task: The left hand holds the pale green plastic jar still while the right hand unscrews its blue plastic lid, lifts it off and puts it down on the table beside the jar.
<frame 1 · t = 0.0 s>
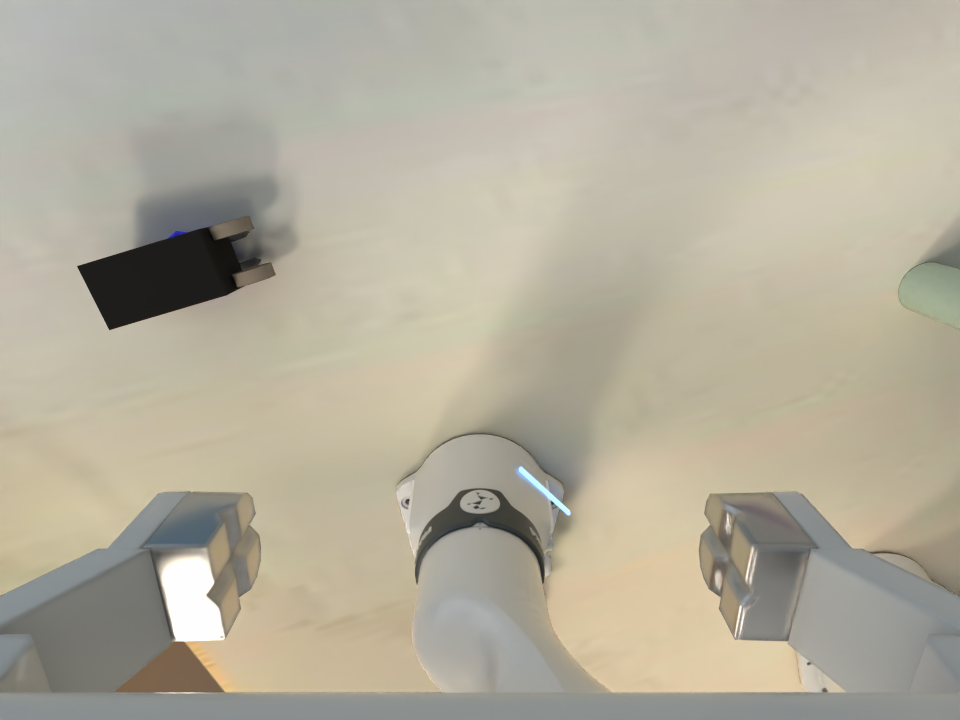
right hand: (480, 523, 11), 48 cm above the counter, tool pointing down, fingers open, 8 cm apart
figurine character: (203, 261, 57), on the counter
jar: (924, 287, 58), on the counter
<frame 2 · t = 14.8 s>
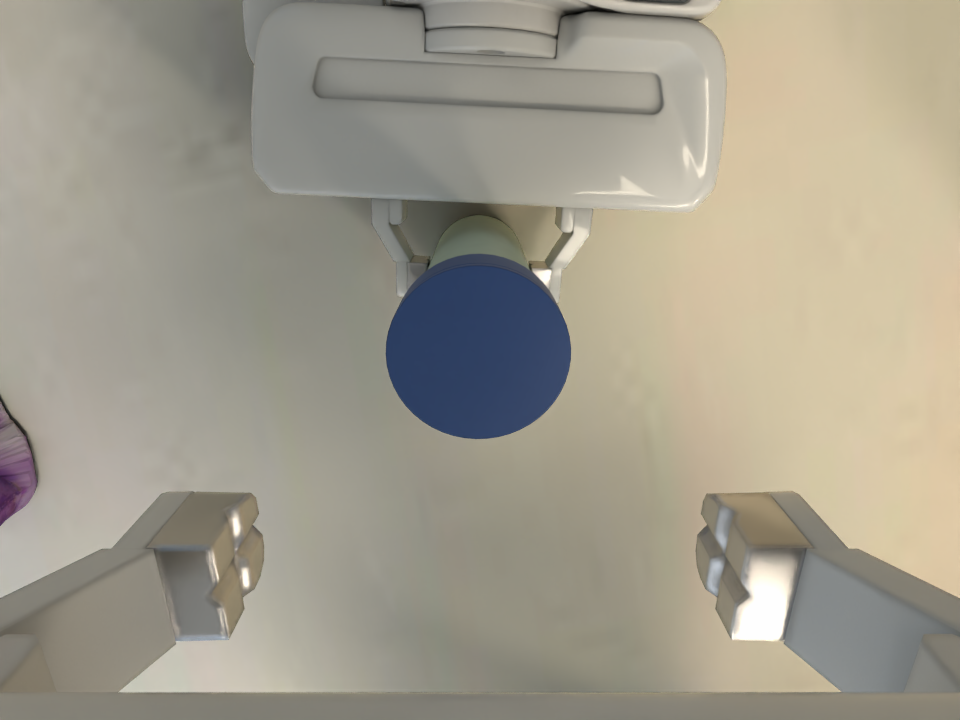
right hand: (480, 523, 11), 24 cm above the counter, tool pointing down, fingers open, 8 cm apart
left hand: (478, 298, 29), fingers closed on jar, 5 cm apart
lid: (478, 353, 19), point 15 cm above the counter, screwed on, not yet turned
jar: (478, 259, 33), on the counter, touching left hand
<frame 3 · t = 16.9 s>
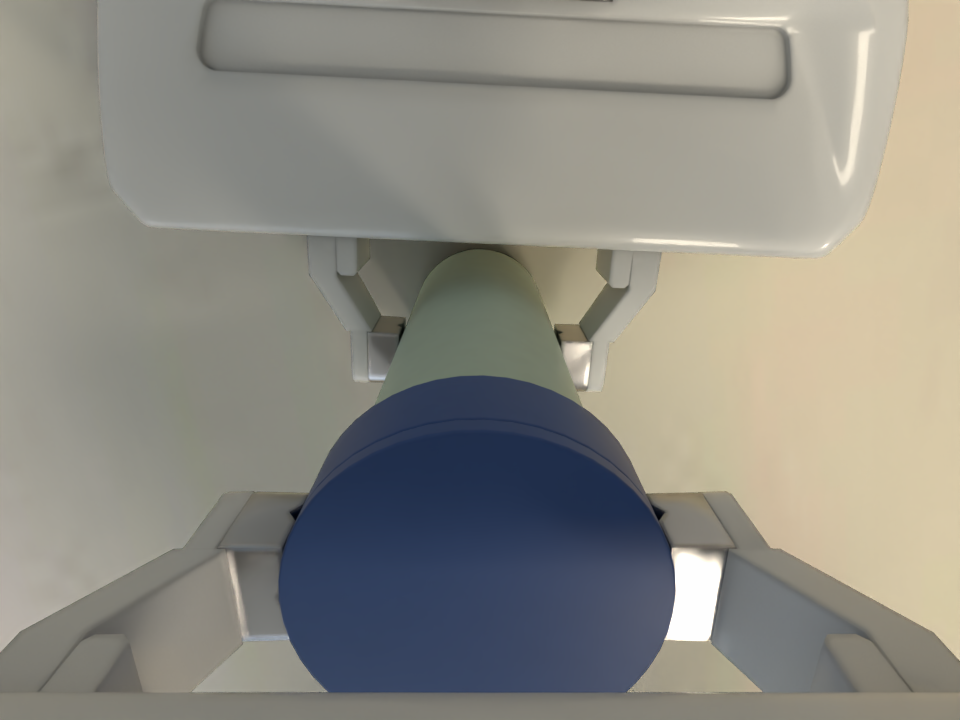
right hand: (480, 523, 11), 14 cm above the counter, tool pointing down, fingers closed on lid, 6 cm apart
lid: (477, 590, 9), point 15 cm above the counter, screwed on, not yet turned, touching right hand
jar: (479, 310, 23), on the counter, touching left hand
when the right hand's fingers open (14 cm above the counter, at t = 18.3 s): lid stays where it is, point 16 cm above the counter.
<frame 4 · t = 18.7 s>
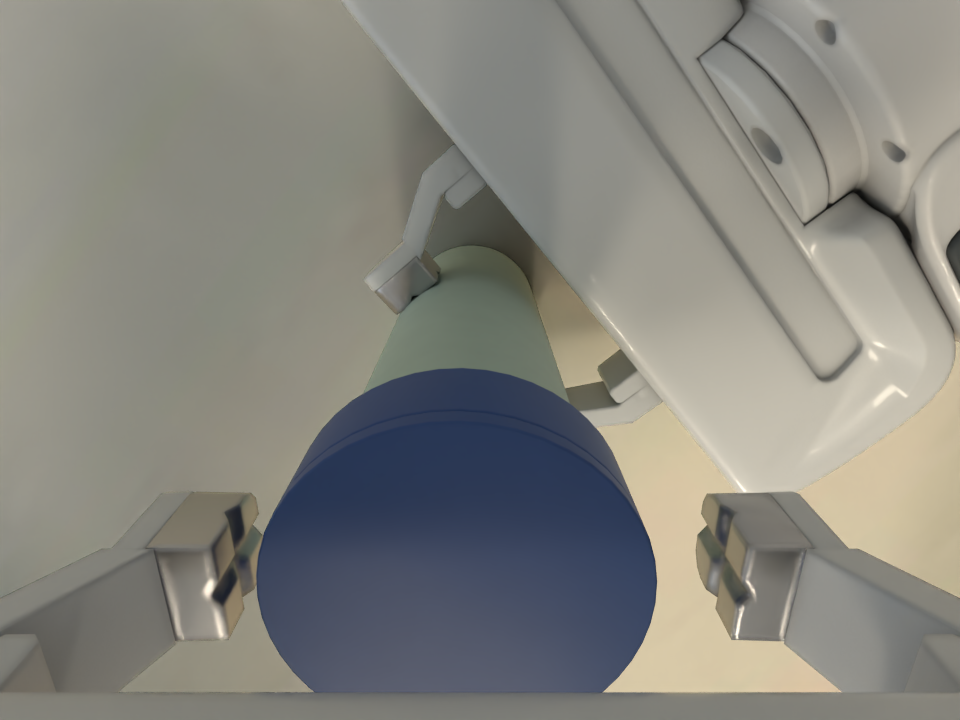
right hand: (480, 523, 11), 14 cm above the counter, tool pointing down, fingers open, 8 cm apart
lid: (457, 584, 9), point 16 cm above the counter, turned 70° so far, risen 0.2 cm, still on its thread
jar: (471, 306, 24), on the counter, touching left hand
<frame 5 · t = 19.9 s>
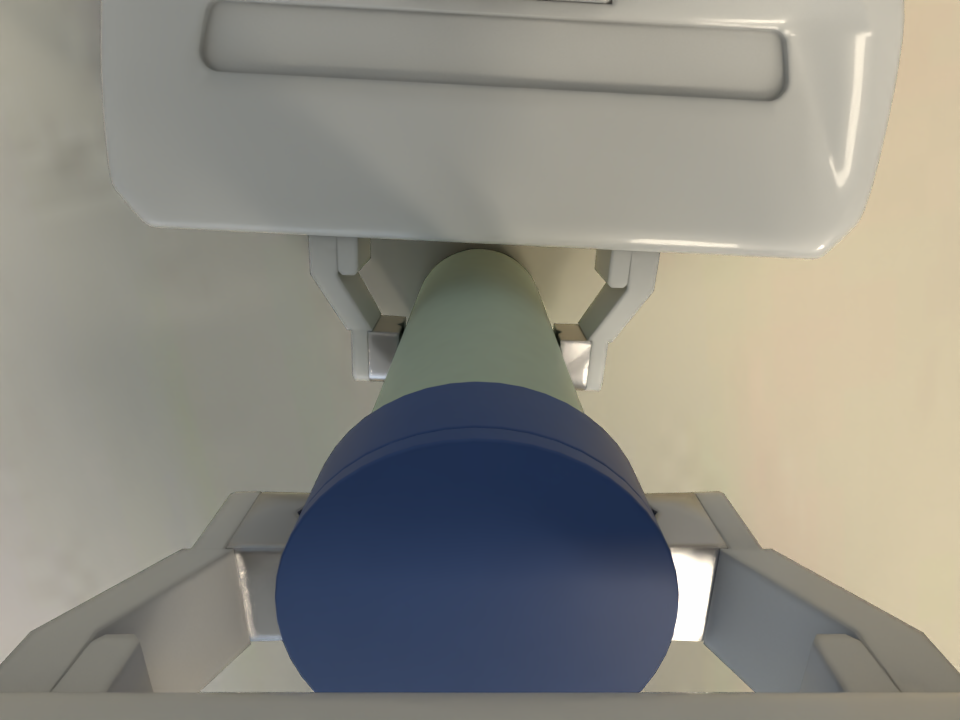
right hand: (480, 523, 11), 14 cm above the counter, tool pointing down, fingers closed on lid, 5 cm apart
lid: (477, 600, 9), point 16 cm above the counter, turned 70° so far, risen 0.3 cm, still on its thread, touching right hand
jar: (479, 310, 23), on the counter, touching left hand
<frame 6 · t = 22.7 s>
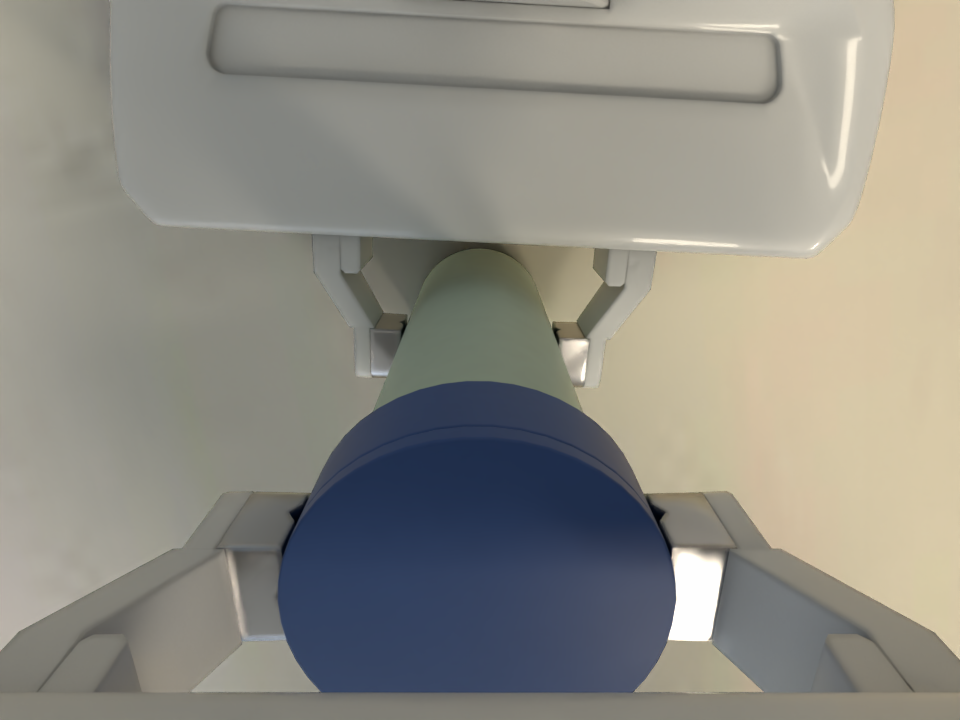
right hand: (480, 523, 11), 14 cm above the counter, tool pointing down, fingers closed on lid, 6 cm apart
lid: (477, 596, 9), point 16 cm above the counter, turned 141° so far, risen 0.5 cm, still on its thread, touching right hand
jar: (479, 309, 24), on the counter, touching left hand
when the right hand's fingers open (2 cm above the counter, at t = 29.7 s): lid drops 2 cm, point 2 cm above the counter.
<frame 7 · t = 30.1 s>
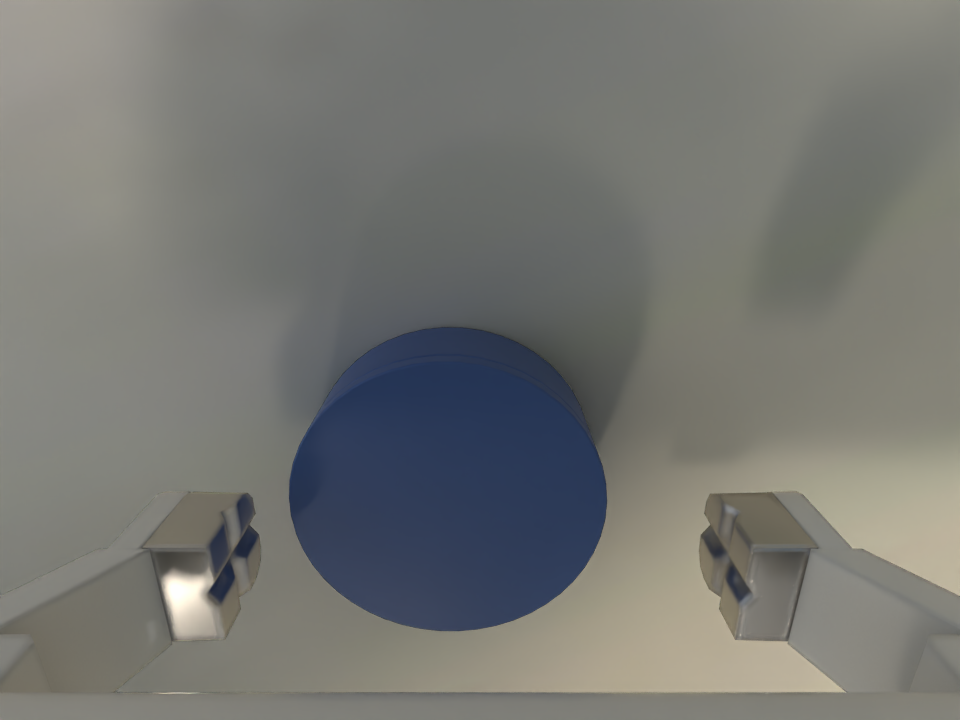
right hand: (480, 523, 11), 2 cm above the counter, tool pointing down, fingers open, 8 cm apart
lid: (449, 499, 11), point 2 cm above the counter, off its thread
when the left hand's fingers open (5 cm above the counter, at t = 30.8 s): jar stays where it is, on the counter.
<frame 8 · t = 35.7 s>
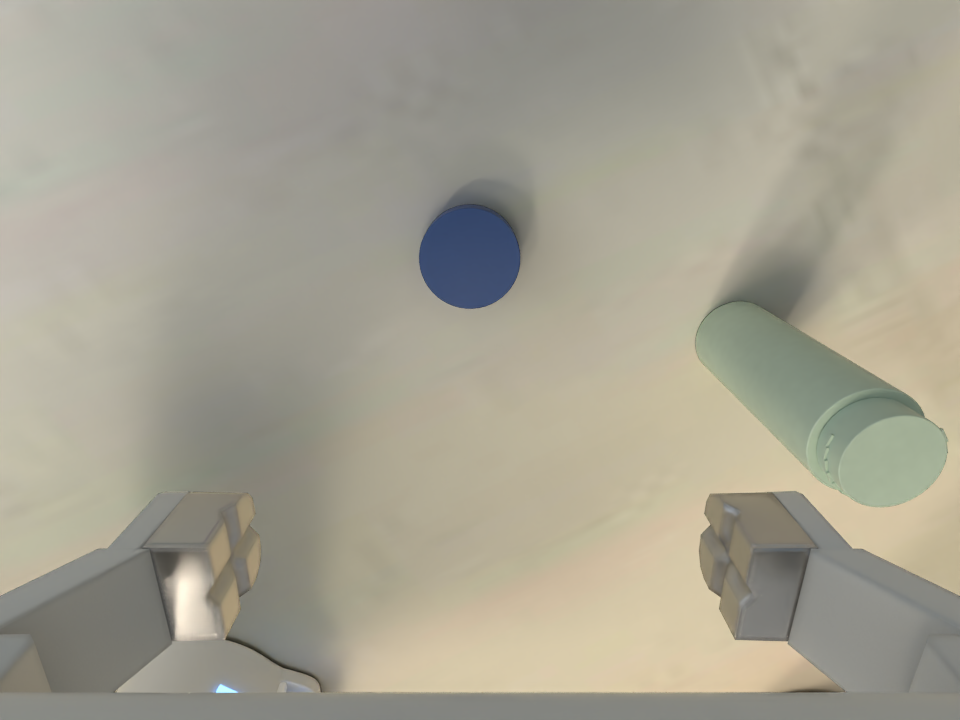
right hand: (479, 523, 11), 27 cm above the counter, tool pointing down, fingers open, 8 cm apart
lid: (469, 258, 34), point 2 cm above the counter, off its thread
jar: (734, 338, 37), on the counter
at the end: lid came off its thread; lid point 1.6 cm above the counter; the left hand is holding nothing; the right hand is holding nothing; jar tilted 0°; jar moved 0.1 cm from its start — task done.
